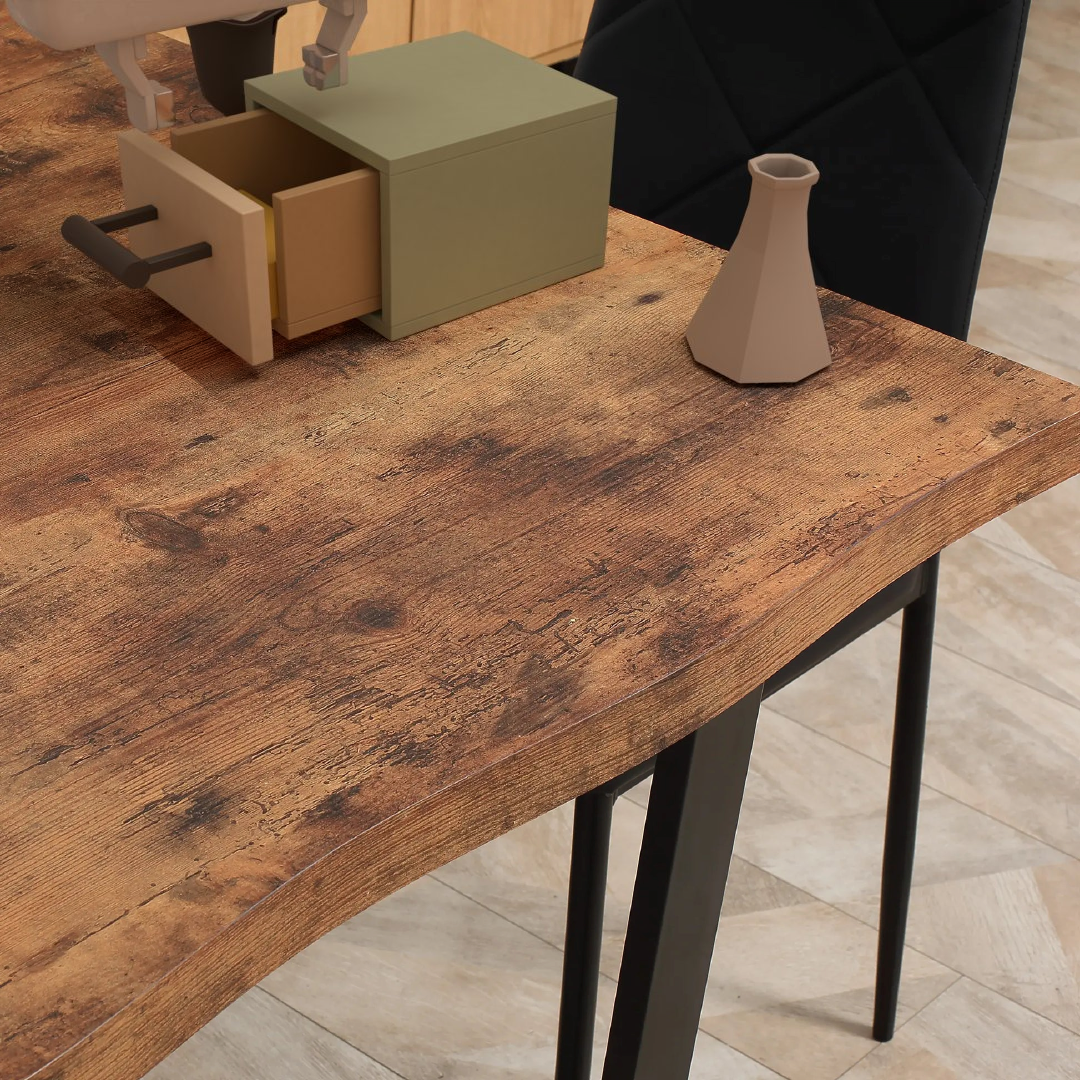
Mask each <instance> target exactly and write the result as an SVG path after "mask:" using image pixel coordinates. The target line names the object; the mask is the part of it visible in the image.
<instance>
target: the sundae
mask: <svg viewBox="0 0 1080 1080" xmlns="http://www.w3.org/2000/svg"><path fill="white" fill-rule="evenodd" d="M289 7H290V6H287V7H282V8H277V9H272V10H267V11H262V12H257V13H252V14H247V15H242V16H237V17H232V18H227V19H222V20H217V21H212V22H207V23H202V24H197V25H192V26H187V27H185V30H186V33H187V36H188V40H189V46H190V49H191V54H192V60H193V64H194V69H195V74H196V78H197V80H198V83H199V87H200V91H201V94H202V97H203V98H204V99H205V100H206V101H207V102H208V103H209V104H210V105H211V107H213V108H214V109H215V110H216V111H218V112H219V113H220V114H222V115H223V116H224V118H225V117H229V116H233V115H237V114H241V113H245V112H246V103H245V93H244V80H248V79H253V78H257V77H261V76H266V75H270V74H274V67H275V66H274V65H275V53H276V52H275V50H276V38H277V30H278V24H279V20H280V19H281V18H283V17H284V16H285V15H287V13H288V11H289V10H288V8H289Z"/></svg>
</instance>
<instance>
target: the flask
mask: <svg viewBox="0 0 1080 1080" xmlns="http://www.w3.org/2000/svg"><path fill="white" fill-rule="evenodd" d="M747 170H748V172H749V174H750V176H751V177H752V181H751V189H750V193H749V201H748V205H747V207H746V209H745V213H744V216H743V219H742V222H741V225H740V228H739V230H738V233H737V236H736V237H735V240H734V242H733V243H732V245H731V247H730V249H729V251H728V253H727V255H726V257H725V258H724V260H723V262H722V264H721V267H720V268H719V270H718V272H717V273H716V276H715V278H714V280H713V281H712V283H711V285H710V286H709V288H708V289H707V292H706V293H705V295H704V297H702V300H701V302H700V304H699V305H698V306H697V309H696V310H695V312H694V314H693V315H692V317H691V319H690V321H689V323H688V325H687V326H686V328H685V330H684V332H683V333H684V335H685V338H686V341H687V343H688V346H689V348H690V351H691V353H692V354H693V355H692V356H693V358H694V361H696V362H698V363H700V364H701V365H703V366H706V367H707V368H709V369H711V370H713V371H715V372H716V373H719V374H721V375H723V376H725V377H726V378H729V379H730V380H733V381H735V382H736V383H738V384H759V383H760V384H762V383H797V382H799V381H801V380H803V379H805V378H807V377H809V376H811V375H813V374H814V373H817V372H818V371H820V370H822V369H824V368H826V367H828V366H830V365H832V364H833V361H832V356H831V351H830V345H829V342H828V337H827V334H826V333H827V332H826V329H825V328H826V327H825V324H824V320H823V319H824V318H823V316H822V315H823V314H822V312H821V308H820V303H819V299H818V298H819V297H818V293H817V288H816V282H815V277H814V272H813V266H812V261H811V257H810V251H809V236H808V234H809V233H808V231H809V230H808V208H809V207H808V206H809V200H810V194H811V193H810V192H811V189H812V186H813V185H815V184H817V183H818V181H819V179H820V172H819V170H818V169H817V167H816V165H815V163H814V162H813V161H811V160H808V159H805V158H803V157H800V156H799V155H795V154H793V153H764V154H762V155H759V156H756V157H753V158H751V159H748V161H747Z"/></svg>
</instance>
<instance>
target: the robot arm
mask: <svg viewBox="0 0 1080 1080" xmlns="http://www.w3.org/2000/svg"><path fill="white" fill-rule="evenodd" d="M317 1H318V4H319V5H321V6H322V7H325V8H326V12H325V13H324V17H323V19H322V22H321V25H320V29H319V31H318V33H317V37H316V40H315V43H311V44H307V45H304V46H301V57H302V58H301V59H302V62H303V63H304V66H303V67H304V68H303V76H304V79H305V82H306V83H307V84H308V85H309V86H312V87H316V89H317V90H319V91H323V90H327V89H331V88H336V87H340V86H344V85H346V84H347V83H348V57H349V51H351V49H352V46H353V44H354V42H355V40H356V38H357V36H358V35H359V32H360V30H361V27H362V25H363V23H364V22H365V18H366V17H367V14H368V0H4V3H5V6H6V9H7V12H8V14H9V15H10V17H11V18H12V20H13V21H14V22H15V23H16V24H17V25H18V26H19V27H20V28H21V29H23V31H25V32H26V33H27V34H29V35H30V36H31V37H33V38H35V39H36V40H37V41H39V42H41V43H43V44H44V45H46V46H48V47H50V48H52V49H53V50H56V51H60V52H66V51H72V50H78V49H83V48H87V47H92V46H94V49H95V52H96V54H97V55H98V56H99V58H100V59H101V61H103V63H104V64H105V66H107V68H108V69H109V70H110V72H111V73H112V74H113V76H114V77H115V79H116V80H117V81H118V83H119V84H120V86H121V87H124V93H125V102H126V111H127V117H128V120H129V122H130V124H131V125H132V127H134V129H139V130H140V131H142V132H143V133H146V134H148V133H152V132H156V131H159V130H163V129H166V128H170V127H175V125H176V122H177V119H176V116H177V115H176V114H175V113H174V111H173V109H174V106H175V98H174V90H172V89H171V88H169V87H167V86H166V85H165V86H164V85H161V83H160V82H159V81H157V80H155V79H153V78H152V79H148V77H146V75H145V73H144V72H143V70H142V69H141V67H140V66H139V65H138V63H137V62H136V60H137V61H140V60H145V59H147V57H148V51H147V50H148V49H147V38H146V35H152V34H157V33H161V32H167V31H172V30H176V29H177V30H178V29H181V28H186V27H187V26H192V25H197V24H202V23H207V22H212V21H217V20H222V19H227V18H232V17H237V16H242V15H247V14H252V13H257V12H262V11H267V10H272V9H277V8H282V7H287V6H289V7H290V6H291V7H292V6H296V5H301V4H306V3H311V2H317ZM287 8H288V7H287Z"/></svg>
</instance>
